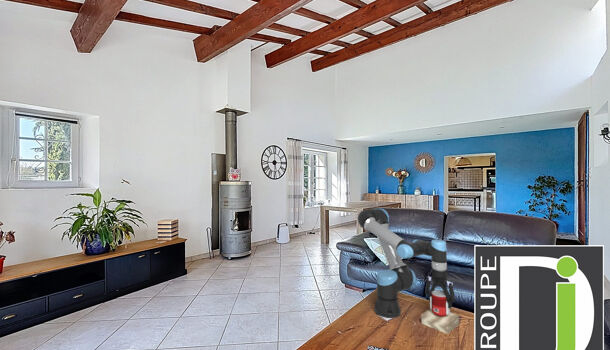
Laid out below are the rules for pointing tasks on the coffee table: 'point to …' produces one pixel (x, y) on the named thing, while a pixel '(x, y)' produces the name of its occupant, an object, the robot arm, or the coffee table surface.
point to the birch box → (440, 321)
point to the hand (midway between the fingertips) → (439, 310)
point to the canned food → (439, 303)
